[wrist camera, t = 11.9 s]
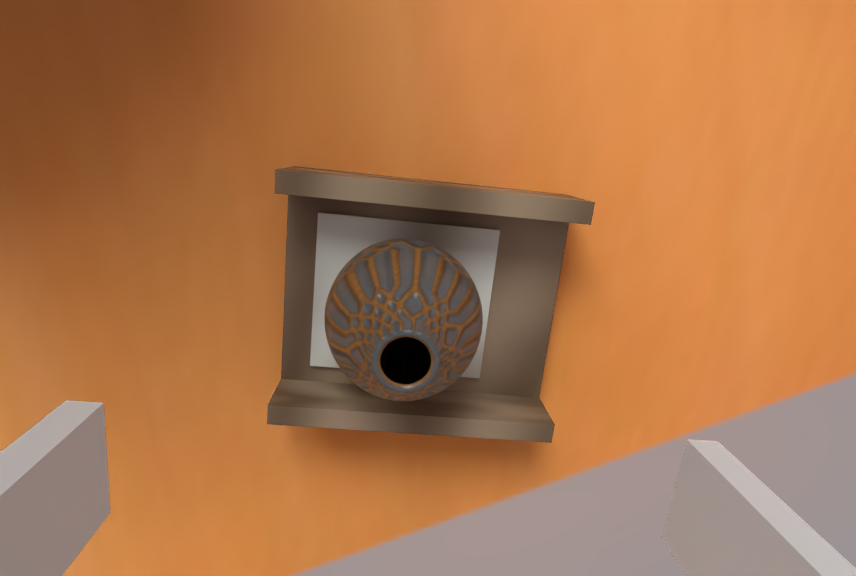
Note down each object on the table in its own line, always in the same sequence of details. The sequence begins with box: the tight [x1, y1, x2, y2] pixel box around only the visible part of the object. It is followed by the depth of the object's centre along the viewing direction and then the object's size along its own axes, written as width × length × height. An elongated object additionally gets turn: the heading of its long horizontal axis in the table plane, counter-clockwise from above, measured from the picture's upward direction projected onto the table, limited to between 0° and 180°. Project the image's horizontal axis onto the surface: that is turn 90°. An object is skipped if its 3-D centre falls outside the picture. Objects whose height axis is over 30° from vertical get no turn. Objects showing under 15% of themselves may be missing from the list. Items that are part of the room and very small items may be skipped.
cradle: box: [267, 167, 595, 443], centre depth 26 cm, size 14×12×4 cm
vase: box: [324, 238, 483, 401], centre depth 23 cm, size 7×7×9 cm
